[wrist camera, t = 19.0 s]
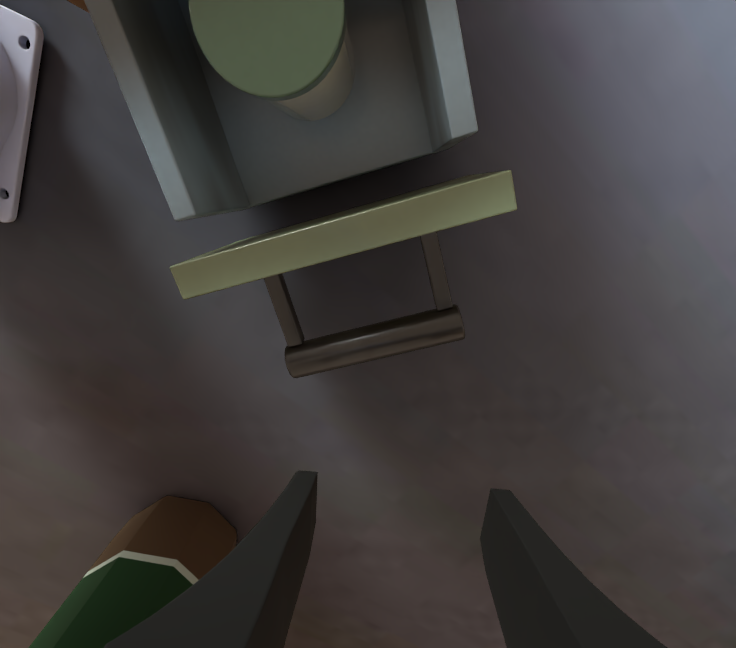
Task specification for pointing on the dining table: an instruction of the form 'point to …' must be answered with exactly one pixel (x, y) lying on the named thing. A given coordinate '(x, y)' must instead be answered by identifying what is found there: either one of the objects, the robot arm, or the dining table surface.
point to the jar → (280, 51)
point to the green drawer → (309, 158)
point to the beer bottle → (140, 572)
